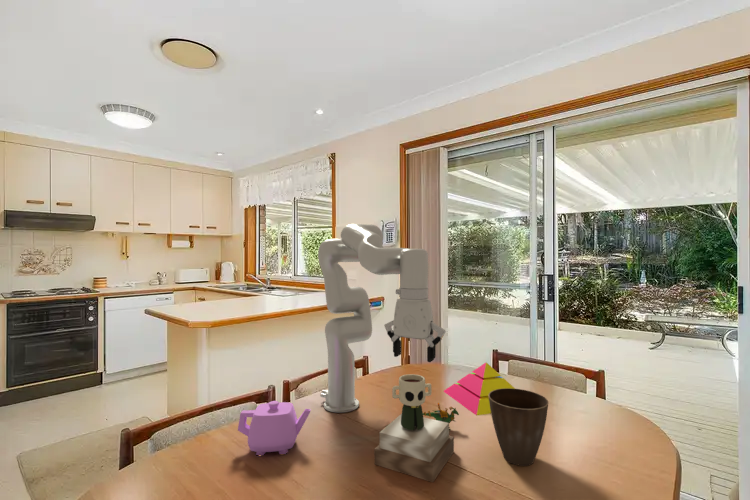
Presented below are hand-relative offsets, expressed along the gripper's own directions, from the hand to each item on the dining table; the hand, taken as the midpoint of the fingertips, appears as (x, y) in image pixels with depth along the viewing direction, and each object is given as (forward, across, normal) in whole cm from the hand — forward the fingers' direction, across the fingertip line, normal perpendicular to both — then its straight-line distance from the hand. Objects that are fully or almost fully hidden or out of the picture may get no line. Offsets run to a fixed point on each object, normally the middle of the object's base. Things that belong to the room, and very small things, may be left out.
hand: (413, 358), depth 101 cm
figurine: (+27, +1, +19) cm, 33 cm away
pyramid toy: (+28, +8, +51) cm, 58 cm away
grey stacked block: (+26, +1, 0) cm, 26 cm away
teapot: (+27, -36, -14) cm, 48 cm away
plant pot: (+26, +25, +13) cm, 38 cm away
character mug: (+19, 0, 0) cm, 19 cm away
